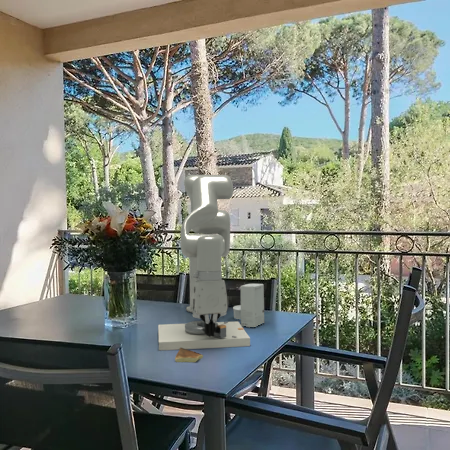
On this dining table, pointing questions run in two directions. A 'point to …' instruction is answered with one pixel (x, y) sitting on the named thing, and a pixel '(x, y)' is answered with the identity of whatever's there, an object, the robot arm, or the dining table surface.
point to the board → (201, 337)
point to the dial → (198, 329)
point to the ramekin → (237, 312)
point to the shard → (187, 356)
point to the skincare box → (252, 305)
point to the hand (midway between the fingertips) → (209, 335)
